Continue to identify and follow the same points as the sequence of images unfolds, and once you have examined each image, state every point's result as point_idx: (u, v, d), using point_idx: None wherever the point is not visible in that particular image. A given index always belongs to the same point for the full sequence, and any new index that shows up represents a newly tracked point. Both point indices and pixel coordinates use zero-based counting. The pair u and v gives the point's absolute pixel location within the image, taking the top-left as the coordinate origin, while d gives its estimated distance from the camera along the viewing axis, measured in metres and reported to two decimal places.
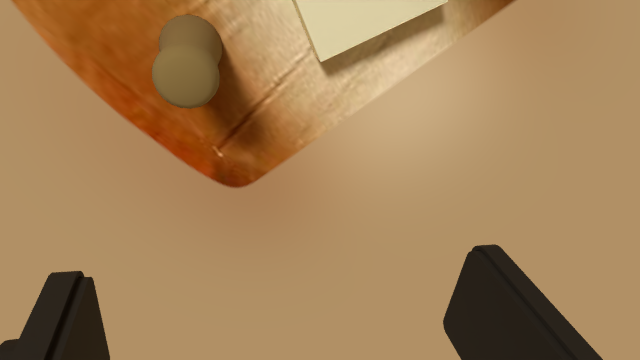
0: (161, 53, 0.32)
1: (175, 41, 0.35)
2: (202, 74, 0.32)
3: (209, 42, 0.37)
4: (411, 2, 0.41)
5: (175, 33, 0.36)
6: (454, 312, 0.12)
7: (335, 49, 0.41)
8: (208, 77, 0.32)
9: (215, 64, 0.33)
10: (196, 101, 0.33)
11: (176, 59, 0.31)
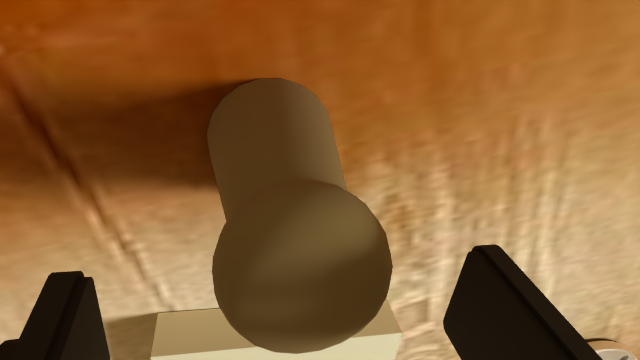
0: (390, 257, 0.12)
1: None
2: (307, 345, 0.12)
3: None
4: None
5: None
6: (454, 312, 0.12)
7: None
8: (291, 350, 0.12)
9: None
10: (245, 306, 0.10)
11: (374, 307, 0.12)
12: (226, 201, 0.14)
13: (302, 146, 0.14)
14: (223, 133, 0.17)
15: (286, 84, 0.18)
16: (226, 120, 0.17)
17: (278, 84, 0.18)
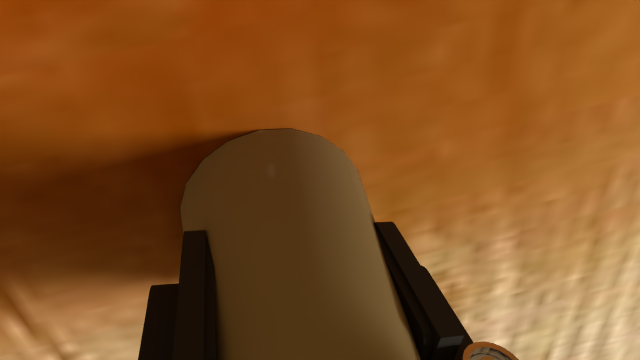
0: None
1: None
2: None
3: None
4: None
5: None
6: None
7: None
8: None
9: None
10: None
11: None
12: None
13: (342, 283, 0.08)
14: None
15: (300, 139, 0.12)
16: (207, 206, 0.11)
17: (288, 140, 0.12)
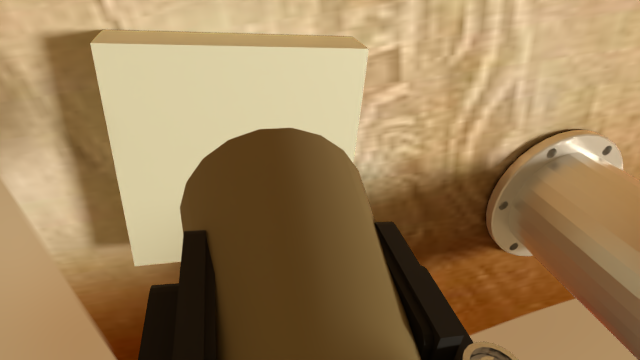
0: None
1: None
2: None
3: None
4: (151, 219, 0.25)
5: None
6: None
7: (108, 80, 0.21)
8: None
9: None
10: None
11: None
12: None
13: (342, 282, 0.08)
14: None
15: (300, 138, 0.12)
16: (207, 205, 0.11)
17: (288, 140, 0.12)
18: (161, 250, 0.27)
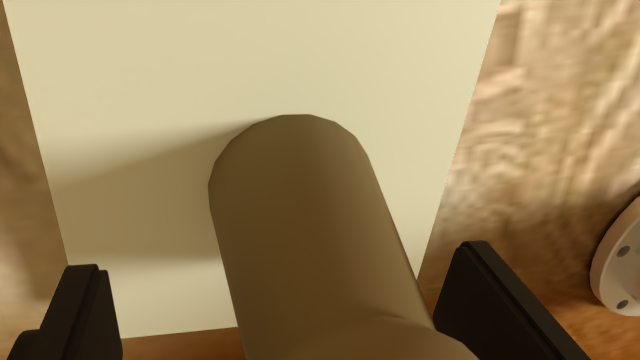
0: None
1: None
2: None
3: None
4: (115, 271, 0.15)
5: None
6: (443, 307, 0.12)
7: (30, 24, 0.11)
8: None
9: None
10: None
11: None
12: (244, 322, 0.09)
13: (360, 238, 0.09)
14: (234, 200, 0.12)
15: (318, 123, 0.13)
16: (237, 178, 0.12)
17: (308, 124, 0.13)
18: (132, 318, 0.17)
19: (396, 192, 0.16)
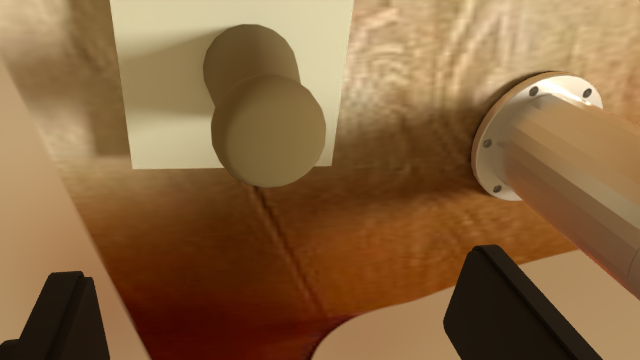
0: (325, 125, 0.19)
1: None
2: (271, 177, 0.18)
3: None
4: (150, 120, 0.27)
5: None
6: (454, 312, 0.12)
7: None
8: (261, 181, 0.18)
9: None
10: (232, 143, 0.17)
11: (313, 153, 0.18)
12: (218, 99, 0.21)
13: (271, 62, 0.21)
14: (216, 60, 0.23)
15: (262, 28, 0.25)
16: (217, 51, 0.24)
17: (256, 28, 0.25)
18: (159, 154, 0.28)
19: (314, 78, 0.28)
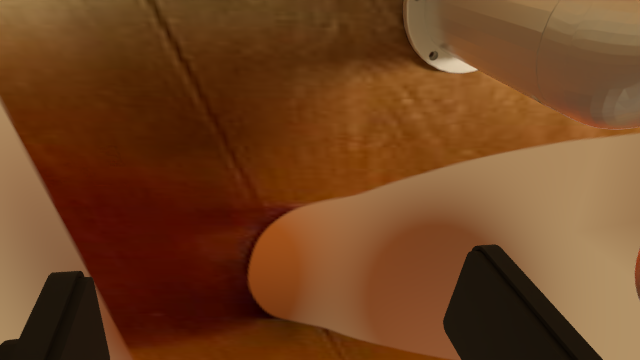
0: None
1: None
2: None
3: None
4: None
5: None
6: (454, 312, 0.12)
7: None
8: None
9: None
10: None
11: None
12: None
13: None
14: None
15: None
16: None
17: None
18: None
19: None
